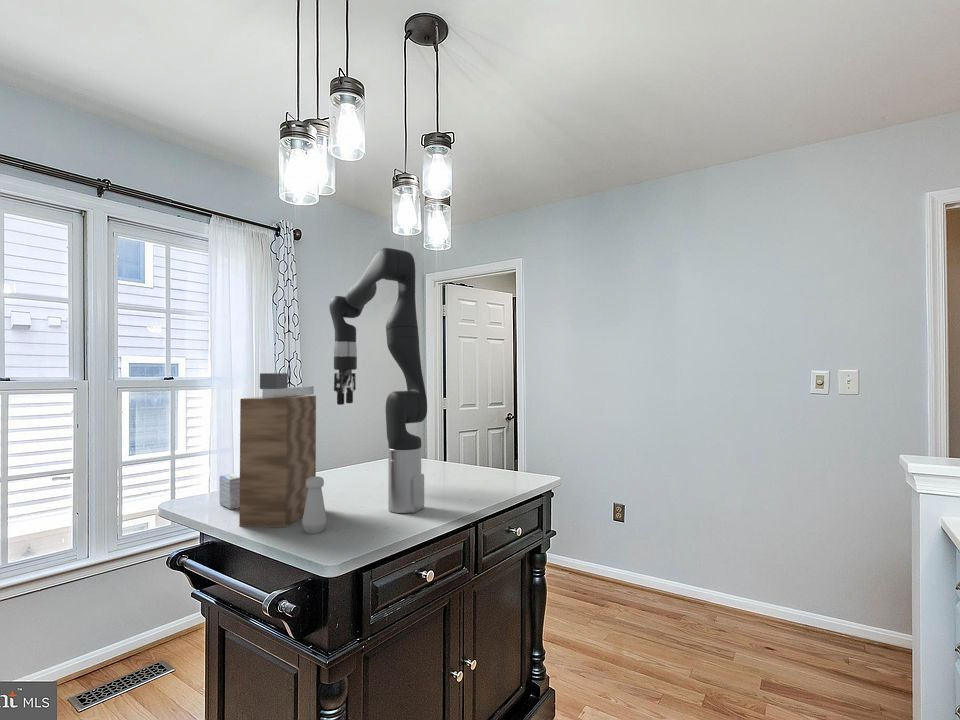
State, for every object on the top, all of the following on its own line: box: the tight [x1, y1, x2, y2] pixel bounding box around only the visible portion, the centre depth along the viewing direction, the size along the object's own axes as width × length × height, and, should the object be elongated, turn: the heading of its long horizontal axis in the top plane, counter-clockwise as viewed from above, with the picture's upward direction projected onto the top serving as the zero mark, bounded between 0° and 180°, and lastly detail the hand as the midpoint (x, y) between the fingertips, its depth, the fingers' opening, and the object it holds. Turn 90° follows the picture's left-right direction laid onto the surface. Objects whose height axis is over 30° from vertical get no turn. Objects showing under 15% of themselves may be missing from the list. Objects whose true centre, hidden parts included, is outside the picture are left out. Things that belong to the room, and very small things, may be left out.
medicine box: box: [219, 473, 240, 510], centre depth 148 cm, size 8×4×9 cm, turn 47°
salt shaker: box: [301, 476, 328, 535], centre depth 124 cm, size 6×6×13 cm
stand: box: [238, 395, 317, 528], centre depth 137 cm, size 18×12×32 cm, turn 174°
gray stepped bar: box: [259, 372, 315, 398], centre depth 143 cm, size 24×4×6 cm, turn 174°
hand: (345, 403), depth 171 cm, fingers open, 8 cm apart
